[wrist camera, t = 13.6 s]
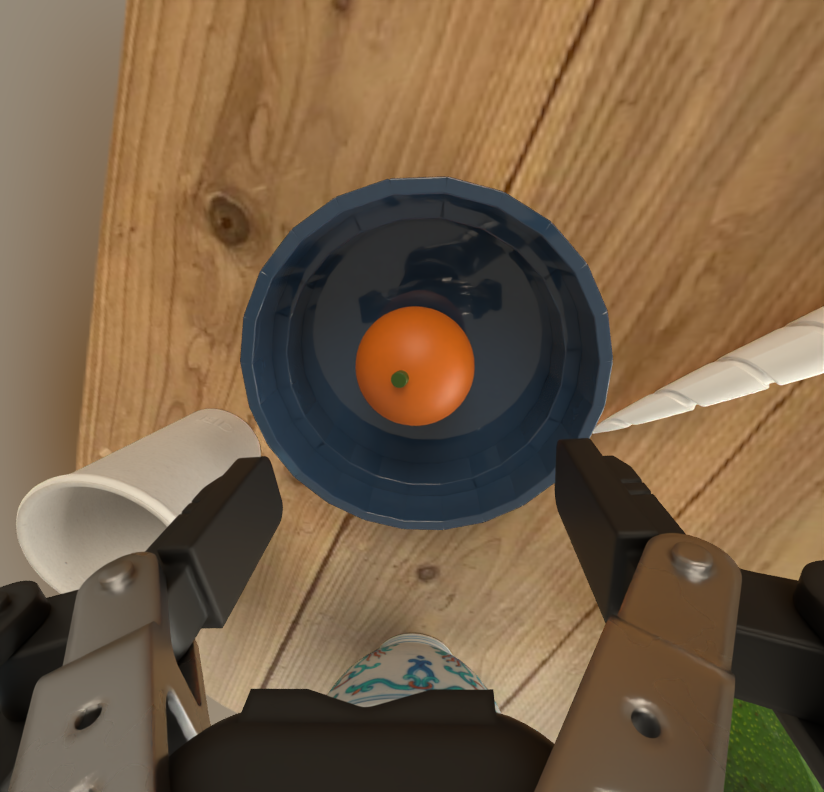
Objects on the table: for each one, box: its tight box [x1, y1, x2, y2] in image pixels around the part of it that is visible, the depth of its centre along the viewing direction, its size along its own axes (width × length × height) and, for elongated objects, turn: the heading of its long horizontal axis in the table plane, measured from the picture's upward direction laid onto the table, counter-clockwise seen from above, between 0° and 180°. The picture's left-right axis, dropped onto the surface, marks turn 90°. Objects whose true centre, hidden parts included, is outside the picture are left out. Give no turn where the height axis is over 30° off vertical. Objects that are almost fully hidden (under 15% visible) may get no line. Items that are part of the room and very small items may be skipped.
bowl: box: [240, 176, 613, 530], centre depth 21 cm, size 17×17×6 cm
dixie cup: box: [16, 409, 261, 594], centre depth 22 cm, size 8×8×10 cm
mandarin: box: [355, 306, 475, 426], centre depth 20 cm, size 6×6×6 cm
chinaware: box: [327, 634, 501, 714], centre depth 30 cm, size 15×15×8 cm
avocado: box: [723, 698, 824, 792], centre depth 25 cm, size 8×8×12 cm
